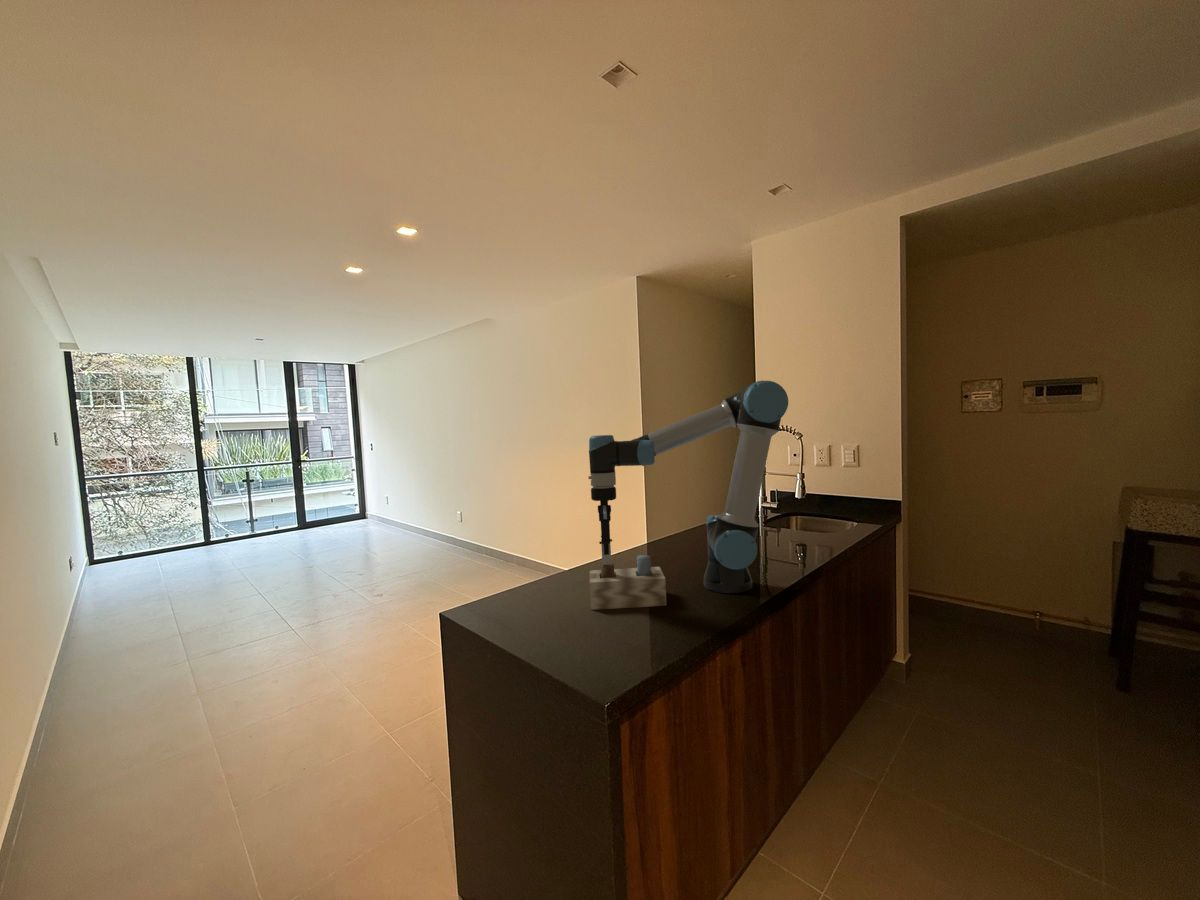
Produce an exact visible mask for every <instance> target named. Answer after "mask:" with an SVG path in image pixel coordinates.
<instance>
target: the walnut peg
mask: <svg viewBox="0 0 1200 900" xmlns="http://www.w3.org/2000/svg"><path fill="white" fill-rule="evenodd" d="M614 569H615V564H614V563H611V565H602V564H600V570H601V578H614V577H615V575H614Z"/></svg>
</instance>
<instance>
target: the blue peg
mask: <svg viewBox="0 0 1200 900" xmlns="http://www.w3.org/2000/svg"><path fill="white" fill-rule="evenodd" d="M651 567H652V566H651V556H650V555H648V554H642V555H640V554H639V555H637V556H636V568H637V572H638V576H650V575H651Z"/></svg>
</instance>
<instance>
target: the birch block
mask: <svg viewBox="0 0 1200 900" xmlns="http://www.w3.org/2000/svg"><path fill="white" fill-rule="evenodd" d="M614 575H615V577H614V578H601V569H593V570H589V595H590V596H589V598H590V600H589V601H590V610H592V611H595V610H597V611H598V610H610V609H613V610H614V609H626V608H628V609H630V608H631V609H632V608H645V607H646V608H647V607H660V606H661V607H662V606H663V607H664V606H667V604H668V603H667V589H666V588H667V586H666V584H667V583H666V577H665V575H664V573H663V571H662V568H661V567H660V566H651V575H650V576H638V572H637V567H627V568H614Z"/></svg>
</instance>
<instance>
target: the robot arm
mask: <svg viewBox="0 0 1200 900" xmlns="http://www.w3.org/2000/svg"><path fill="white" fill-rule="evenodd" d="M721 401H722V402H721V403H720V404H718V405H714V406H712V407H711V408H708V409H705V410H703V411H700V412H698V413H696V414H694V415H691V416H688V417H686V418H684V419H681V420H679V421H677V422H673V423H671V424H669V425H667V426H665V427H661V428H659V429H656V430H654V431H652V432H648V434H647V433H646V434H644V435H642V436H639V437H637V438H633V439H632V440H620V441H619V440H615V438H614V436H613V435H612V434H604V435H602V434H600V435H592V436H590V437H589V440H588V447H589V448H588V449H589V450H588V453H589V454H588V457H589V470H590V474H589V476H588V479H589V480H590V486H592V487H591V488H590V495H591V496H590V498H591V500H592V501H594V502H600V503H599V505H597V512H598V521H599V522H600V533H601V534H600V537H601V538H600V541H599V542H598V543H599V545H601V546H600V547H601V563H602V564H601V565H611V564H612V550H611V549H612V548H611V547H612V546H611V542H613V539H612V538H611V532H610V530H611V527H610V522H611V516H612V515H611V512H612V506H611V504H609V501H614V500H616V499H617V487H616V484H617V482H616V481H617V480H616V467H634V466H636V467H637V466H642V467H644V466H652V465H653V464H655V461H656V460H655V458H656V456H658V455H660V454H664V453H666V452H668V451H671V450H674V449H676V448H679V447H681V446H684V445H686V444H689V443H692V442H694V441H697V440H699V439H702V438H705V437H707V436H710V435H712V434H714V433H716V432H720V431H722V430H724V429H726V428H729V427H732V428H733V429H735V428H738V429H739V439H738V442H737V447H736V452H735V458H734V461H733V466H732V472H731V477H730V483H729V487H728V492H727V497H726V502H725V506H724V507H725V508H724V511H723V512H721V513H720V514H710V515H708V516H707V517H706V524H705V526H706V539H707V541H706V543H707V565H706V567H705V568H706V569H705V572H704V574H703V586H704V588H705V589H707V590H709V591H712V592H716V593H721V594H739V593H745V592H748V591H750V590H752V588H753V579H752V576H751V573H750V570H749V568H748V567H749V566H751V565H752V564H753V562H754V561H755V560H756V558H757V555H758V544H757V542H756V540H757V535H758V529H759V524H758V522H757V521H756V519H755V517H756V514H757V513H756V512H757V508H758V507H757V506H758V502H759V497H760V493H761V488H762V483H763V479H764V473H765V469H766V464H767V460H768V459H767V458H768V454H769V450H770V445H771V442H772V441H771V440H772V437H774V436H775V435H776V434H777V433H779V431H780V425H781V421H782V418H783V417H784V415H785V414H786V412H787V411H788V407H789V396H788V394H787V391H786V390H785V388H783V386H782V385H781V384H780V383H777V382H775V381H772V380H758V381H755V382H753V383H751V384H750V385H748V386H746V387H744V388H743V389H741V390H739V391H738V392H737V393H735V394H733V395H730V396H728V397H727V398H724V399H722V400H721Z"/></svg>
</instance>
